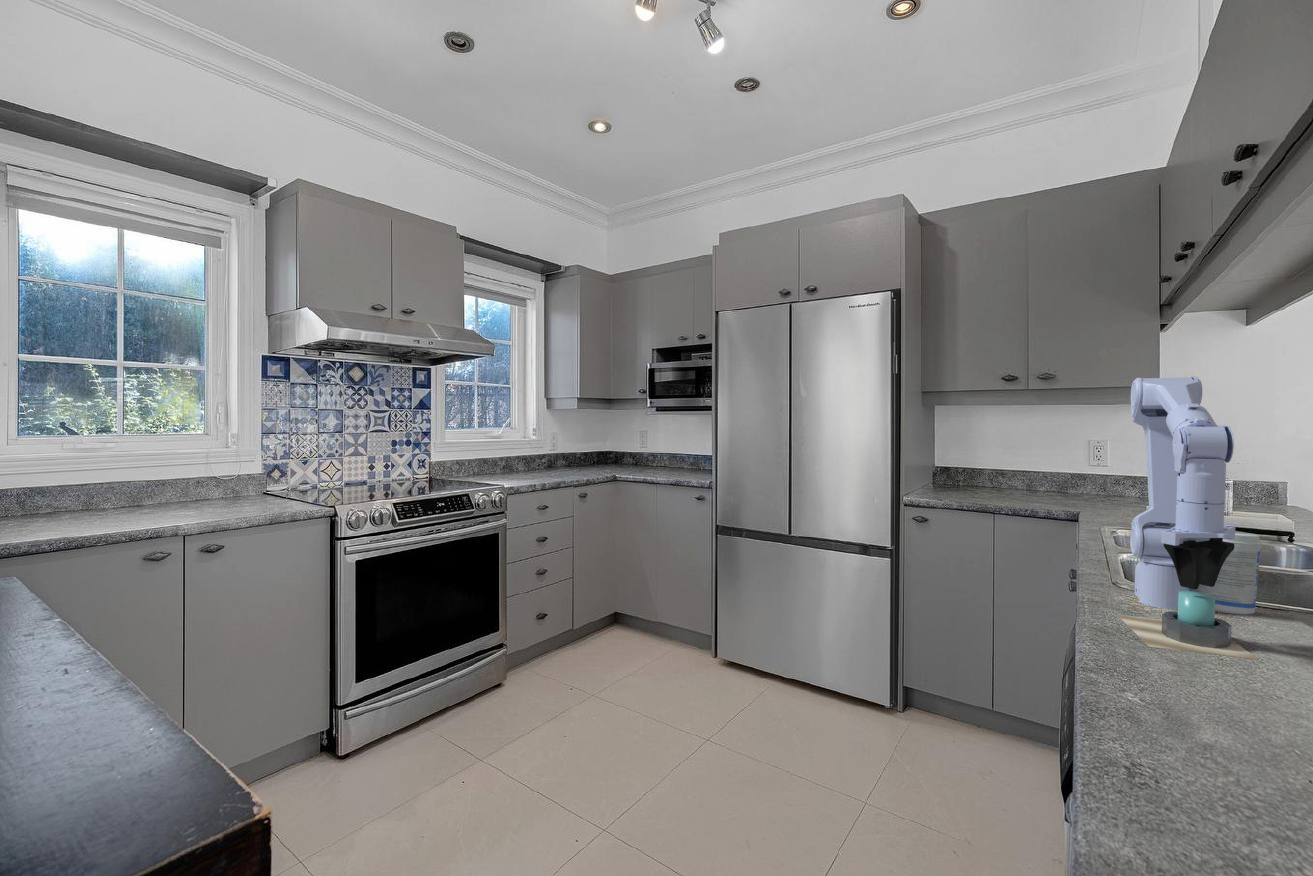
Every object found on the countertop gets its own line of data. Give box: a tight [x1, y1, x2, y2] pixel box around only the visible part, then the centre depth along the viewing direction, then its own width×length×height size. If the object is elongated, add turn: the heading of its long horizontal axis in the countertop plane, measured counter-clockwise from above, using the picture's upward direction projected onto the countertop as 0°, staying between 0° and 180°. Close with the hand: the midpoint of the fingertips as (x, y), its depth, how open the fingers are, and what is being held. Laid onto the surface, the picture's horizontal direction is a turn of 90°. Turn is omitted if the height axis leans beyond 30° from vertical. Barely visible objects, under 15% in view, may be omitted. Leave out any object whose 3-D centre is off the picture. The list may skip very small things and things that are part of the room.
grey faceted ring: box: [1161, 610, 1232, 648], centre depth 97 cm, size 8×8×3 cm
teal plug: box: [1177, 591, 1216, 626], centre depth 97 cm, size 4×4×7 cm
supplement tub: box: [1189, 530, 1261, 615], centre depth 113 cm, size 10×10×15 cm
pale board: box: [1117, 614, 1260, 661], centre depth 98 cm, size 16×13×1 cm
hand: (1197, 586), depth 97 cm, fingers open, 3 cm apart
